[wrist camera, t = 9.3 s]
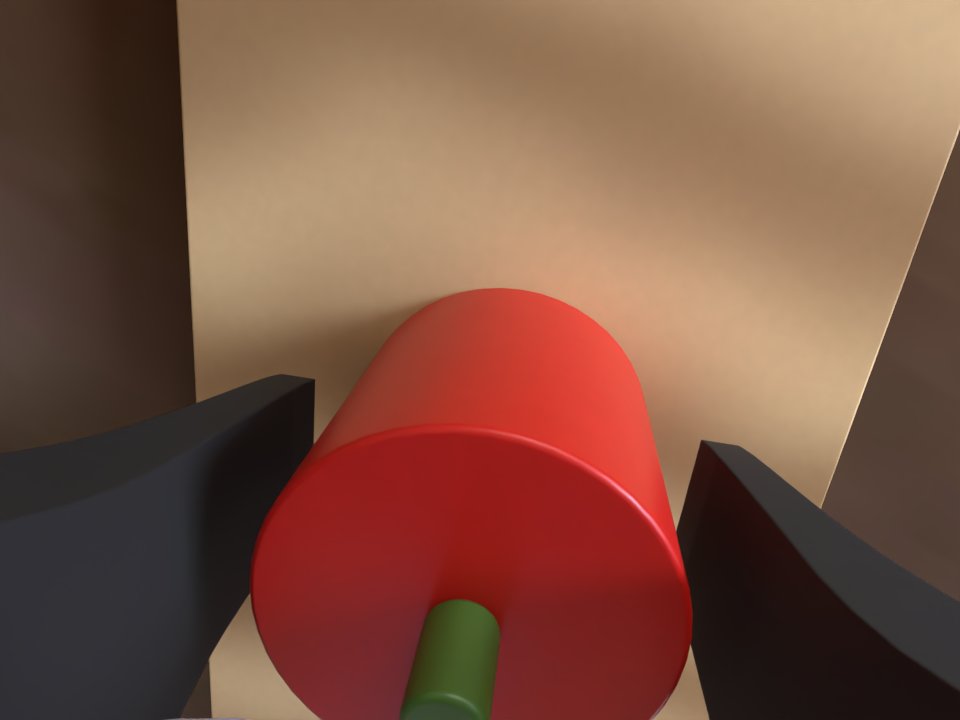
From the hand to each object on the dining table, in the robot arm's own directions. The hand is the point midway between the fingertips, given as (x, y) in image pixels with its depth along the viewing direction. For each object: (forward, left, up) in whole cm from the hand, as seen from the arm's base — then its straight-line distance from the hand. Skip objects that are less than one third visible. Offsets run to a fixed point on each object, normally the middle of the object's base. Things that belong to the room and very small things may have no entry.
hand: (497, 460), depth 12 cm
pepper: (0, 0, -1) cm, 1 cm away
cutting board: (0, 0, -2) cm, 2 cm away
